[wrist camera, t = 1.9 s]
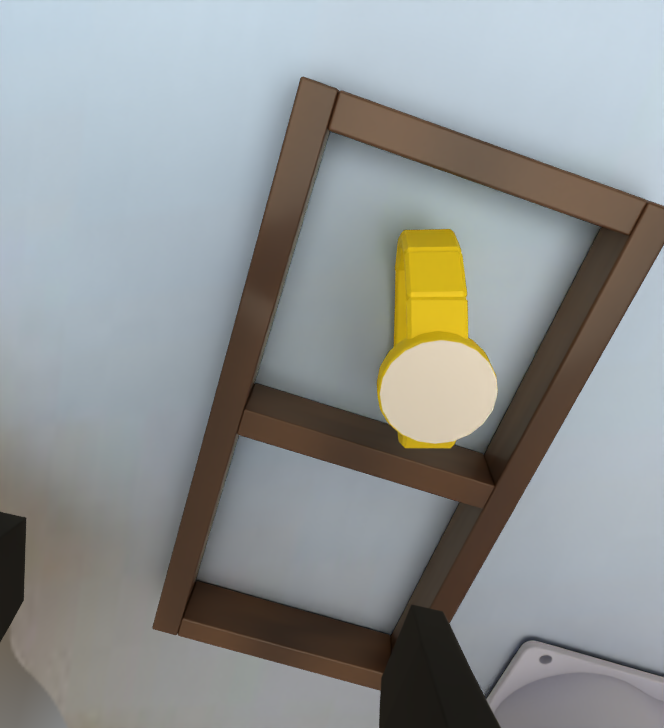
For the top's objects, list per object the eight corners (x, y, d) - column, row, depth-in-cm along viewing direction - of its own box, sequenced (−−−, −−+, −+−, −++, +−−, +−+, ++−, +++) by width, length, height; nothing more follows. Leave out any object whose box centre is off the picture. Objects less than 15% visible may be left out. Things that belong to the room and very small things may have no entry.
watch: (373, 215, 17) (378, 260, 12) (464, 213, 17) (512, 257, 12) (372, 391, 20) (376, 495, 14) (453, 391, 20) (488, 496, 14)
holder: (648, 202, 17) (683, 213, 15) (404, 655, 25) (407, 698, 23) (308, 80, 16) (301, 75, 14) (167, 590, 24) (151, 629, 22)
